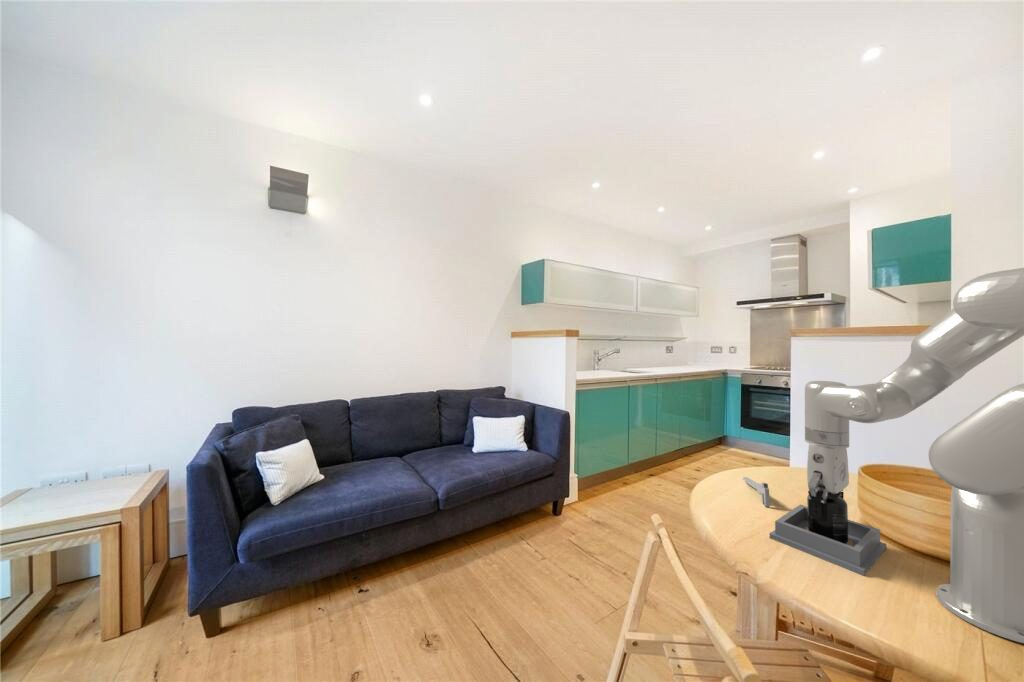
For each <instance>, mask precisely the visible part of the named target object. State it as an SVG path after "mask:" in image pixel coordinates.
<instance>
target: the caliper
mask: <svg viewBox="0 0 1024 682" xmlns="http://www.w3.org/2000/svg"><path fill="white" fill-rule="evenodd" d="M742 480H743V481H744V480H745V481H744V483H746V484H747V485H749V486H751V487H752V488H753V489H755V490H756V493H757V494H759V495H760V497H761V502H762V503H761V504H763V505H764V507H766V508H770V507H771V506H770V505H771V502H770V489H769V484H768V483H766V482H761V483H760V482H756V481H754V480H753V479H751V478H750V477H748V476H743V477H742Z"/></svg>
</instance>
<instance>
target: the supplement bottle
mask: <svg viewBox="0 0 1024 682" xmlns="http://www.w3.org/2000/svg"><path fill="white" fill-rule="evenodd" d="M818 487H821V486H818ZM822 488H825V487H822ZM818 492H820V491H818ZM841 492H842V491H840V492H839V493H837V494H832V493H831V492H828V496H827V500H826V503H828V521H827V522H824V521H821V520H818V519H815V518H811V517H810V516H809V499H808V496H809V494H807V499H806V500H807V504H806V505H807V507H808V531H810V532H813V533H816V534H819V535H822V536H824V537H827V538H830V539H833V540H835V541H838V542H841V543H844V544H846V543H848V520H849V515H848V513H849V512H848V510H849V509H848V508H849V507H848V503H847V501H846V500H845V499H843V498H841V497H840V496H841ZM820 494H821V496H822V494H823V492H820Z"/></svg>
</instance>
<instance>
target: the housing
mask: <svg viewBox="0 0 1024 682" xmlns="http://www.w3.org/2000/svg"><path fill="white" fill-rule="evenodd" d="M774 526H775V527H774V530H773V531H771V532H770V533H769V538H770V539H772V540H774V541H777V542H779V543H782V544H784V545H787V546H789V547H792V548H794V549H797V550H799V551H801V552H804V553H806V554H809V555H811V556H814V557H816V558H819V559H822V560H824V561H827V562H829V563H832V564H833V565H837V566H839V567H841V568H844V569H845V570H849V571H850V572H853V573H856V574H858V575H861V576H865V575H866V574H867V573H868V572H869V571H870V570H871V568H872V567H873V566H874V564H875V563H876V562H877V561H878V559H879V558H880V557H881V556H882V555H883V553H884V552H885V551H886V549H887V543H884V542H882V541H881V529H880V528H876V527H873V526H870V525H866V524H864V523H860V522H857V521H854V520H851V519H848V543H846V544H844V543H841V542H838V541H835V540H833V539H830V538H827V537H824V536H822V535H819V534H816V533H813V532H810V531H808V505H807V506H806V505H803V504H799V505H797V506H796V507H794V508H793V509H791V510H790V511H788V512H787V513H785V514H783V515H782V516H781V517H779V518H778V519H776V520H775V522H774Z"/></svg>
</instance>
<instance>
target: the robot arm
mask: <svg viewBox="0 0 1024 682" xmlns="http://www.w3.org/2000/svg"><path fill="white" fill-rule="evenodd" d="M952 307H953V308H952V309H951V310H949V311H948V312H946V313H945V314H944V315H942V317H940V318H939V319H937V320H936V321H935V322H933V323H932V324H931V325H929V327H927V328H926V329H925V330H924V331H922V332H920V333H919V334H918V335H917V336H915V337H914V339H913V340H912V341H911V343H910V354H909V355H908V357H907V358H906V359H905V361H904V362H903V363H901V365H899V366H897V368H895V369H894V370H893V371H891V372H890V373H889V374H887V375H886V376H884V377H883V378H882V379H880V380H879V381H878V382H876V383H869V384H868V383H867V384H861V385H847V384H846V383H843V382H838V381H832V380H831V381H829V380H811V381H808V382H806V384H805V386H804V442H806V443H808V450H807V451H808V452H807V462H806V463H807V464H806V465H807V466H806V467H807V469H806V478H807V479H806V480H807V481H806V482H807V488H808V491H807V492H808V494H807V497H808V499H809V516H810V517H811V518H815V519H818V520H821V521H824V522H827V521H828V503H826V500H827V496H828V492H831V493H832V494H837V493H839V492H840V491H841V496H840V497H841V498H843V499H844V496H845V495H844V489H846V488H847V487H848V486H849V484H850V478H849V477H850V476H849V475H850V474H849V459H848V450H847V449H848V448H850V421H853V422H857V423H861V424H876V423H881V422H885V421H889V420H895V419H898V418H902V417H904V416H907V415H908V414H910V413H912V412H913V411H914V410H916V409H919V407H921V406H924V404H926V403H928V402H929V401H931V400H932V399H934V398H935V397H936V396H938V395H940V394H941V393H942V392H944V391H945V390H946V389H948V388H949V387H950V386H952V385H953V384H954V383H955V382H957V381H958V380H961V379H962V378H963V377H964V376H966V374H967V373H968V372H970V371H971V370H973V369H974V368H976V367H977V366H980V364H981V363H984V362H985V361H986V360H988V359H989V358H991V357H993V356H994V355H995V354H997V353H998V352H1000V351H1002V350H1003V349H1005V348H1006V347H1008V346H1009V345H1011V344H1013V343H1014V342H1016V341H1017V340H1019V339H1021V338H1022V337H1024V267H1021V268H1012V269H1007V270H1000V271H993V272H989V273H985V274H982V275H979V276H976V277H975V278H972V279H970V280H968V282H966V283H964V284H963V285H962V286H961V287H960V288H959V289H958V290H957V291H956V293H955V295H954V297H953V301H952ZM928 461H929V464H930V467H931V468H932V471H934V473H935V474H936V475H937V476H938V478H940V479H941V480H942V481H943V482H945V483H946V484H948V485H950V486H951V492H950V493H951V494H950V551H949V555H950V565H949V568H950V570H949V571H950V574H949V575H950V576H949V579H950V583H944V584H940V585H938V586H937V587H936V589H935V592H936V598H937V600H938V601H939V602H940V604H941V605H942V606H943V607H945V608H946V609H948V611H949V612H951V613H952V614H954V615H955V616H957V617H958V618H961V619H963V621H966V622H967V623H969V624H972V625H974V626H975V627H977V628H980V629H982V630H984V631H986V632H989V633H991V634H994V635H995V636H999V637H1001V638H1005V639H1007V640H1010V641H1013V642H1016V643H1020V644H1024V382H1023V383H1020V384H1016V385H1014V386H1012V387H1010V388H1008V389H1006V390H1004V391H1003V392H1001V393H999V394H998V395H996V396H994V397H993V398H991V399H990V400H989V401H987V402H986V403H985V404H983V405H981V406H980V407H978V408H977V409H976V410H974V411H973V412H972V413H970V414H969V415H968V416H966V417H965V418H963V419H961V420H960V421H959V422H956V424H955V425H953V426H952V427H951V428H950V427H949V429H948V430H946V431H945V432H943V433H942V434H940V435H939V436H938V437H937V438H936V439H935V440H934V441H933V442H931V445H930V447H929V449H928ZM818 486H821V487H818ZM822 487H825V488H822ZM818 491H820V492H823V494H822V496H821V494H820V492H818ZM808 495H809V496H808ZM844 500H845V499H844Z"/></svg>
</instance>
